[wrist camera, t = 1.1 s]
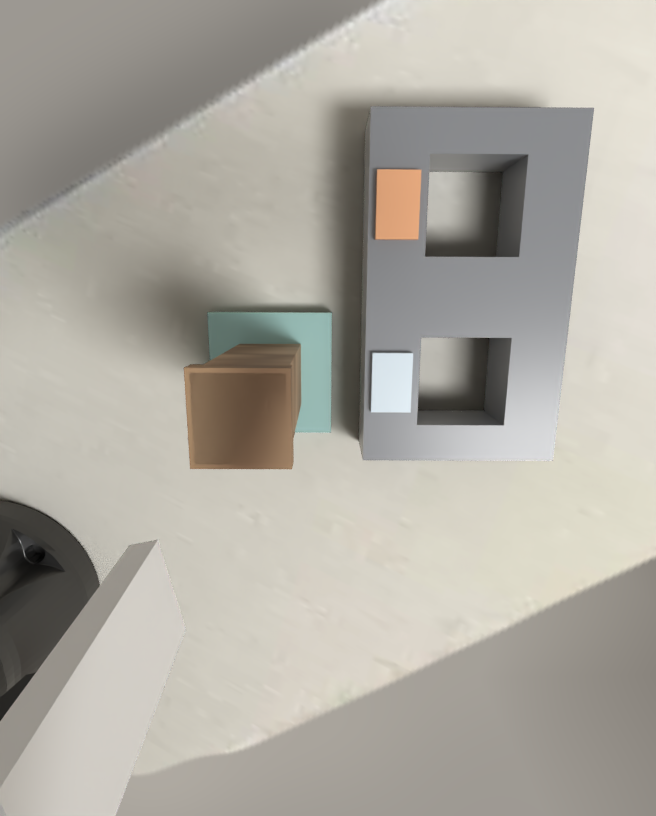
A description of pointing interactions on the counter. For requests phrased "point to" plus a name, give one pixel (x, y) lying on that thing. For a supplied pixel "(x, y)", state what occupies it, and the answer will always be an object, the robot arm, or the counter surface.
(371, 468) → the counter surface
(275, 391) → the plug
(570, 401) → the counter surface
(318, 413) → the plate
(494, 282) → the port box
